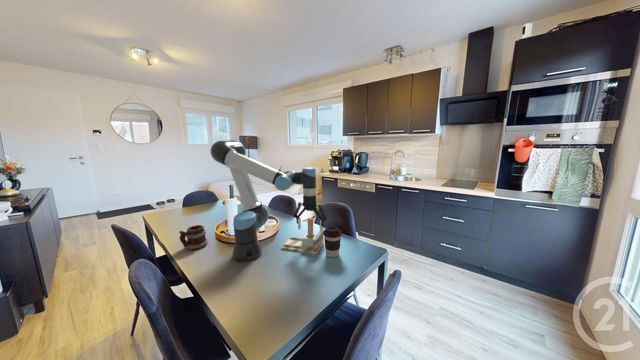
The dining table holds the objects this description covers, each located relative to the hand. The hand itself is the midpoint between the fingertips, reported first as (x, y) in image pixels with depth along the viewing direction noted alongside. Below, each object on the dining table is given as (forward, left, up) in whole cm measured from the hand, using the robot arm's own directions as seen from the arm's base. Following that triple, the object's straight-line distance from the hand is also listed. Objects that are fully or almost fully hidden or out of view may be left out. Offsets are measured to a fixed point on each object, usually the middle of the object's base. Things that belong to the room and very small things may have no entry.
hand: (310, 230), depth 127 cm
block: (0, 0, -9) cm, 9 cm away
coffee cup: (+14, -5, -11) cm, 19 cm away
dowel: (0, 0, -8) cm, 8 cm away
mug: (-67, -19, -11) cm, 71 cm away
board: (-5, 0, -11) cm, 12 cm away
